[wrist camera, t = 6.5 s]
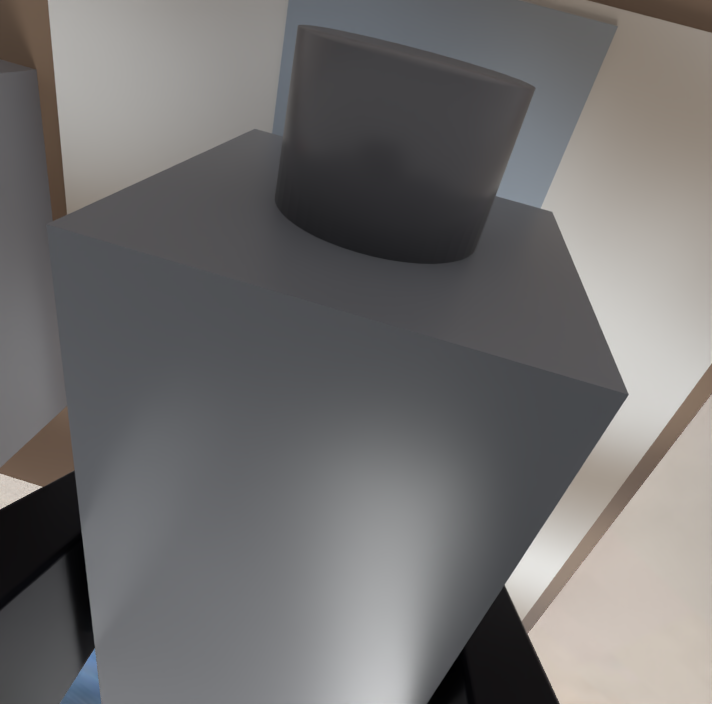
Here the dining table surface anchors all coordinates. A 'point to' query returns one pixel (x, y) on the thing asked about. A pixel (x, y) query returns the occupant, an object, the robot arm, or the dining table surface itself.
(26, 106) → the button housing
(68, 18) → the picture frame
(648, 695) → the dining table surface
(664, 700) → the dining table surface
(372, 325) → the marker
